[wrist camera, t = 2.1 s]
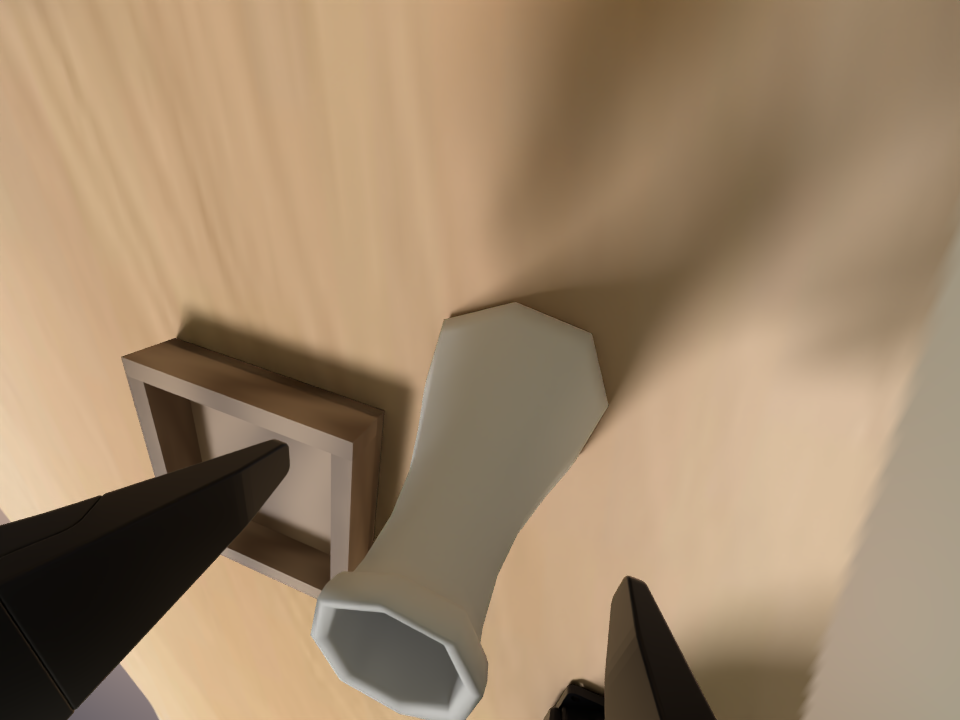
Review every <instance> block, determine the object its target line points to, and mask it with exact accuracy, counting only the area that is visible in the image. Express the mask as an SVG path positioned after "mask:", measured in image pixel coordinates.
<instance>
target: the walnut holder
mask: <svg viewBox="0 0 960 720" xmlns="http://www.w3.org/2000/svg"><path fill="white" fill-rule="evenodd" d="M121 359H122V362H123V366H124V369H125V373H126V376H127V380H128V383H129V387H130V390H131V394H132V397H133V401H134V404H135V408H136V411H137V415H138V418H139V422H140V425H141V429H142V432H143V436H144V439H145V443H146V447H147V450H148V454H149V457H150V461H151V464H152V468H153V471H154V475H155V477H158V476H161V475H164V474H167V473H170V472H173V471H176V470H179V469H182V468H185V467H188V466H191V465H194V464H198V463H201V462H204V461H207V460H210V459H213V458H216V457H219V456H222V455H225V454H228V453H231V452H234V451H237V450H240V449H243V448H246V447H250V446H253V445H256V444H259V443H262V442H265V441H268V440H271V439H276V440H279V441H282V442H284V443H287V444H288V446H289V455H290V469H289V472H288V473H287V475H286V476H285V478H284V479H283V480H282V482H281V483H280V484H279V486H278V487H277V488H276V489H275V491H274V492H273V493H272V495H271V496H270V497H269V499H268V500H267V501H266V502H265V504H264V505H263V506H262V508H261V509H260V510H259V511H258V513H257V514H256V515H255V517H254V518H253V519H252V520H251V521H250V523H249V524H248V525H247V526H246V527H245V528H244V530H243V531H242V532H241V533H240V534H239V535H238V536H237V537H236V538H235V539H234V540H233V541H232V543H231V544H230V545H229V546H228V547H227V548H226V549H225V550H224V551H223V552H222V553H221V554H220V555H222V556H225V557H227V558H229V559H231V560H233V561H235V562H238V563H240V564H242V565H244V566H246V567H248V568H251V569H253V570H255V571H257V572H259V573H261V574H264V575H266V576H268V577H270V578H272V579H274V580H277V581H279V582H281V583H283V584H285V585H287V586H290V587H292V588H294V589H296V590H298V591H300V592H303V593H305V594H307V595H309V596H311V597H313V598H316V599H317V598H318V596H319V595H320V593H321V591H322V590H323V588H324V587H325V585H326V584H327V583H328V582H329V581H330V580H331V579H332V578H333V577H334V576H335V575H336V574H338V573H341V572H343V571H347V572H353V571H354V570H355V569H356V568H357V566H358V565H359V564H360V563H361V562H362V560H363V559H364V558H365V556H366V555H367V553H368V552H369V550H370V548H371V547H372V545H373V540H374V528H375V516H376V504H377V492H378V480H379V468H380V457H381V445H382V433H383V421H384V411H383V410H380V409H377V408H374V407H372V406H369V405H366V404H363V403H360V402H357V401H354V400H351V399H349V398H346V397H343V396H340V395H337V394H334V393H331V392H328V391H326V390H323V389H320V388H317V387H314V386H311V385H308V384H306V383H303V382H300V381H297V380H294V379H291V378H288V377H285V376H283V375H280V374H277V373H274V372H271V371H268V370H265V369H262V368H260V367H257V366H254V365H251V364H248V363H245V362H242V361H239V360H237V359H234V358H231V357H228V356H225V355H222V354H219V353H217V352H214V351H211V350H208V349H205V348H202V347H199V346H196V345H194V344H191V343H188V342H185V341H182V340H179V339H176V338H174V339H171V340H168V341H165V342H162V343H160V344H157V345H154V346H151V347H148V348H145V349H142V350H140V351H137V352H134V353H131V354H128V355H125V356H122V357H121Z"/></svg>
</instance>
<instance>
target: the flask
mask: <svg viewBox="0 0 960 720" xmlns="http://www.w3.org/2000/svg"><path fill="white" fill-rule="evenodd" d="M608 406H609V405H608V401H607V397H606V392H605V388H604V384H603V379H602V375H601V370H600V366H599V362H598V357H597V353H596V349H595V344H594V340H593V336H592V333H590V332H587V331H585V330H582V329H580V328H577V327H575V326H573V325H570V324H568V323H565V322H563V321H560V320H558V319H556V318H553V317H551V316H548V315H546V314H544V313H541V312H539V311H536V310H534V309H531V308H529V307H527V306H524V305H522V304H519V303H517V302H512V303H508V304H504V305H500V306H496V307H492V308H488V309H484V310H480V311H476V312H472V313H468V314H464V315H460V316H456V317H452V318H448V319H444V322H443V325H442V328H441V332H440V335H439V339H438V342H437V345H436V349H435V352H434V356H433V359H432V362H431V366H430V369H429V373H428V376H427V379H426V384H425V389H424V394H423V401H422V408H421V414H420V421H419V427H418V432H417V437H416V442H415V446H414V451H413V456H412V461H411V465H410V470H409V473H408V475H407V477H406V480H405V482H404V485H403V487H402V490H401V492H400V495H399V497H398V500H397V502H396V504H395V507H394V509H393V512H392V514H391V516H390V518H389V519H388V521H387V523H386V524H385V526H384V527H383V529H382V531H381V532H380V534H379V535H378V537H377V539H376V540H375V542H374V543H373V545H372V547H371V548H370V550H369V552H368V553H367V555H366V556H365V558H364V559H363V560H362V562H361V563H360V564H359V565H358V566H357V568H356V569H355V570H354V571H353V572H347V571H343V572H341V573H338V574H336V575H335V576H334V577H333V578H332V579H331V580H330V581H329V582H328V583H327V584H326V585H325V587H324V588H323V590H322V591H321V593H320V595H319V596H318V598H317V604H316V609H315V614H314V620H313V625H312V630H311V636H312V638H313V640H314V641H315V643H316V644H317V646H318V647H319V649H320V650H321V652H322V653H323V655H324V656H325V658H326V659H327V661H328V662H329V664H330V665H331V667H332V668H333V670H334V671H335V673H336V675H337V676H338V678H339V679H340V680H341V681H342V682H344V683H346V684H348V685H349V686H351V687H353V688H355V689H357V690H358V691H360V692H362V693H364V694H365V695H367V696H369V697H371V698H372V699H374V700H376V701H378V702H379V703H381V704H383V705H385V706H386V707H388V708H390V709H392V710H393V711H395V712H397V713H399V714H402V715H407V716H412V717H417V718H421V719H426V720H466V718H467V717H468V716H469V714H470V713H471V712H472V710H473V709H474V708H475V706H476V705H477V704H478V703H479V701H480V700H481V699H482V697H483V694H484V691H485V687H486V684H487V676H488V661H487V658H486V655H485V653H484V650H483V648H482V646H481V644H480V641H481V634H482V628H483V624H484V621H485V617H486V614H487V610H488V607H489V603H490V600H491V596H492V593H493V589H494V586H495V582H496V579H497V575H498V573H499V571H500V569H501V567H502V565H503V563H504V561H505V559H506V557H507V555H508V553H509V551H510V548H511V546H512V544H513V542H514V540H515V538H516V536H517V534H518V533H519V531H520V530H521V529H522V527H523V526H524V525H525V523H526V522H527V521H528V519H529V518H530V517H531V515H532V514H533V513H534V511H535V510H536V509H537V507H538V506H539V505H540V503H541V502H542V501H543V499H544V498H545V497H546V496H547V494H548V493H549V492H550V491H551V490H552V489H553V487H554V486H555V485H556V484H557V483H558V481H559V480H560V479H561V478H562V477H563V476H564V474H565V473H566V472H567V471H568V470H569V468H570V467H571V466H572V464H573V463H574V462H575V460H576V459H577V457H578V455H579V454H580V452H581V450H582V449H583V447H584V445H585V444H586V442H587V440H588V439H589V437H590V436H591V434H592V432H593V431H594V429H595V427H596V426H597V424H598V422H599V421H600V419H601V417H602V416H603V414H604V412H605V411H606V409H607V407H608Z"/></svg>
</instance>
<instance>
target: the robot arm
mask: <svg viewBox="0 0 960 720" xmlns="http://www.w3.org/2000/svg"><path fill="white" fill-rule="evenodd" d="M289 469H290V455H289V446H288V444H287V443H284V442H282V441H279V440H276V439H271V440H268V441H265V442H262V443H259V444H256V445H253V446H250V447H246V448H243V449H240V450H237V451H234V452H231V453H228V454H225V455H222V456H219V457H216V458H213V459H210V460H207V461H204V462H201V463H198V464H194V465H191V466H188V467H185V468H182V469H179V470H176V471H173V472H170V473H167V474H164V475H161V476H158V477H155V478H152V479H149V480H145V481H142V482H139V483H136V484H133V485H130V486H127V487H124V488H121V489H118V490H115V491H112V492H109V493H106V494H104V495H103V496H96V497H93V498H90V499H87V500H84V501H81V502H78V503H75V504H71V505H68V506H65V507H62V508H59V509H55V510H52V511H49V512H46V513H42V514H39V515H35V516H32V517H28V518H25V519H21V520H18V521H14V522H11V523H7V524H4V525H0V720H67V719H68V718H69V717H70V716H71V715H72V714H73V713H74V710H75V709H77V708H78V707H79V706H80V705H81V704H82V703H83V702H84V701H85V700H86V699H87V697H88V696H89V695H90V694H91V693H92V692H93V691H94V690H95V689H96V688H97V686H99V684H100V683H101V682H102V681H103V680H104V679H105V678H106V677H107V676H108V675H109V674H110V673H111V671H113V669H114V668H115V667H116V666H117V665H118V664H119V663H120V662H121V661H122V660H123V659H124V658H125V657H126V655H127V654H128V653H129V652H130V651H131V650H132V649H133V648H134V647H135V646H136V645H137V644H138V643H139V642H140V640H141V639H142V638H143V637H144V636H145V635H146V634H147V633H148V632H149V631H150V630H151V629H152V628H153V626H154V625H155V624H156V623H157V622H158V621H159V620H160V619H161V618H162V617H163V616H164V615H165V614H166V612H167V611H168V610H169V609H170V608H171V607H172V606H173V605H174V604H175V603H176V602H177V601H178V600H179V598H180V597H181V596H182V595H183V594H184V593H185V592H186V591H187V590H188V589H189V588H190V587H191V586H192V584H193V583H194V582H195V581H196V580H197V579H198V578H199V577H200V576H201V575H202V574H203V573H204V572H205V570H206V569H207V568H208V567H209V566H210V565H211V564H212V563H213V562H214V561H215V560H216V559H217V558H218V557H219V555H220V554H221V553H222V552H223V551H224V550H225V549H226V548H227V547H228V546H229V545H230V544H231V543H232V541H233V540H234V539H235V538H236V537H237V536H238V535H239V534H240V533H241V532H242V531H243V530H244V528H245V527H246V526H247V525H248V524H249V523H250V521H251V520H252V519H253V518H254V517H255V515H256V514H257V513H258V511H259V510H260V509H261V508H262V506H263V505H264V504H265V502H266V501H267V500H268V499H269V497H270V496H271V495H272V493H273V492H274V491H275V489H276V488H277V487H278V486H279V484H280V483H281V482H282V480H283V479H284V478H285V476H286V475H287V473H288V472H289ZM544 720H716V718H715V716H714V714H713V712H712V710H711V708H710V706H709V704H708V702H707V701H706V699H705V697H704V695H703V693H702V691H701V689H700V687H699V685H698V683H697V681H696V679H695V677H694V675H693V673H692V671H691V670H690V668H689V666H688V664H687V662H686V660H685V658H684V656H683V654H682V652H681V650H680V648H679V646H678V644H677V642H676V640H675V639H674V637H673V635H672V633H671V631H670V629H669V627H668V625H667V623H666V621H665V619H664V617H663V615H662V613H661V611H660V609H659V608H658V606H657V604H656V602H655V600H654V598H653V596H652V594H651V592H650V590H649V588H648V586H647V585H646V583H645V582H643V581H642V580H639V579H636V578H634V577H631V576H626V577H624V579H623V580H622V582H621V584H620V586H619V587H618V589H617V591H616V592H615V594H614V596H613V599H612V603H611V612H610V623H609V634H608V646H607V657H606V668H605V698H604V697H601V696H599V695H597V694H595V693H592V692H590V691H588V690H586V689H583V688H581V687H579V686H576V685H569V686H567V688H566V689H565V691H564V693H563V694H562V696H561V698H560V699H559V701H558V703H557V704H556V706H553V707H552V708H550V709H549V711H548V713H547V715H546V716H545V718H544Z"/></svg>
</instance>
